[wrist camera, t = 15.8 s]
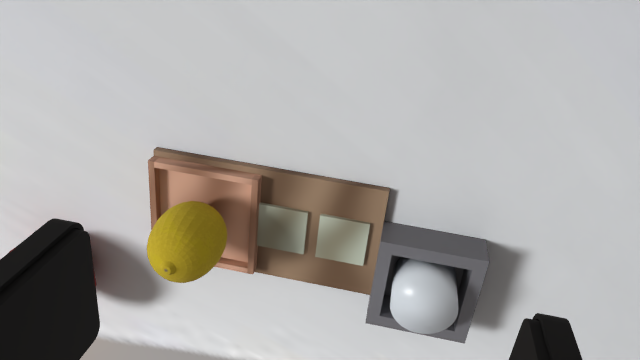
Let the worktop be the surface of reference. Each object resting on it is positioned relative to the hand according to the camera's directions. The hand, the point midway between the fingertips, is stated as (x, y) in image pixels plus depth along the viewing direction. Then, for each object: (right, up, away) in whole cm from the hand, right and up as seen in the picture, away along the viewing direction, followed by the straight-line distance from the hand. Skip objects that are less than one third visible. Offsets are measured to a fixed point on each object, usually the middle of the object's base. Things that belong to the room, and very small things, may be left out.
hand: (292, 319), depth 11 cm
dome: (+9, -5, +32) cm, 34 cm away
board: (-4, 0, +33) cm, 33 cm away
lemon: (-9, 0, +33) cm, 34 cm away
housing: (+9, -5, +33) cm, 34 cm away
